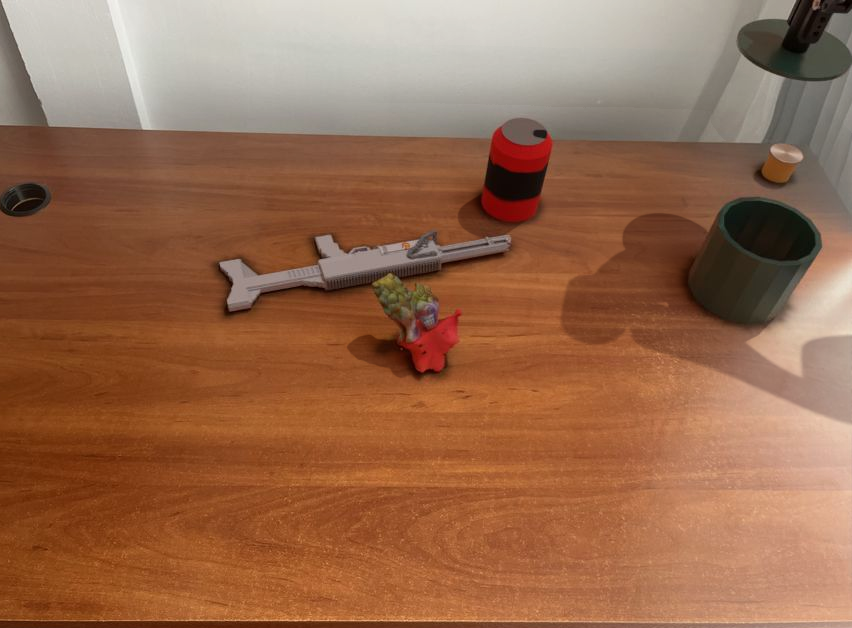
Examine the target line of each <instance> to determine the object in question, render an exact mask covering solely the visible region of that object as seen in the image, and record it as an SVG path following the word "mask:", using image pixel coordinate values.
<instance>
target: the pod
mask: <svg viewBox="0 0 852 628" xmlns="http://www.w3.org/2000/svg"><path fill="white" fill-rule="evenodd" d="M803 159H804V154H803V153H802V151H801V150H800V149H798V147H796V146H794V145H792V144H788V143H783V142H782V143H781V142H780V143H779V142H778V143H775V144H773V145H771V146H770V148H769V155H768V157H767V159H766V161H765V163H764V165H763V166H762V168H761V174H762V176H763V177H764V179H767V180H768V181H770V182H773V183H778V184H783V183H787V182H788V181H789V180H790V177H792V174H793V173H794V170H795V169H796V167H797V165H798V164H800V163H801V162H802V161H803Z"/></svg>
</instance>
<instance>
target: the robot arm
mask: <svg viewBox="0 0 852 628" xmlns="http://www.w3.org/2000/svg"><path fill="white" fill-rule="evenodd" d="M801 1H802V0H795V2H794V4H793V6H792V8H791V10H790V13H789V15H788V16H787V19H786V20H787V23H788V25H789V26H790V25H791V22H792V20H793V18H794V16H795V14H796V12H797V10H798V8H799V5H800V3H801ZM851 11H852V0H814V2H813V6H812V7H811V8H810V10H809V12H808V14H807V16H806V18H805V20H804V22H803V25H802V27H801V29H800V31H799V33H798V35H797V39H798V41H799V42H800V43H808V44H814V43H817V42H818V41H819V39H820V38H821V36H822V34H823V32H824V31H826V30H825V29H826V28H827V26H828V24H829V22H830V20H831V18H832V16H833V15H834V14H842V15H843V14H844V15H846V14H849V13H850V12H851Z"/></svg>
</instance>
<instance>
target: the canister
mask: <svg viewBox="0 0 852 628" xmlns="http://www.w3.org/2000/svg"><path fill="white" fill-rule="evenodd" d="M822 241H823V240H822V234H821V232H820V231H819V229H818V228H817V226H816V225H815V223H814V222H813V220H812V219H811V218H809V217H808V216H807V215H805V214H804V213H803V212H801V211H800V210H799V209H798V208H796V207H793V206H791V205H789V204H787V203H785V202H782V201H780V200H777V199H772V198H767V197H762V196H743V197H742V196H741V197H737V198H735V199H732V200H730V201H727V202H726V203H725V204H724V205H723V206H722V207H721V209H720V210H719V211H718V212H717V214H716V216H715V218H714V220H713V223H712V224H711V227H710V229H709V231H708V232H707V235H706V237H705V239H704V241H703V243H702V244H701V247H700V248H699V250H698V253H697V254H696V257H695V259H694V260H693V263H692V265H691V267H690V269H689V271H688V281H687V284H688V285H687V286H688V287H689V290H690V292H691V293H692V296H693V298H694V299H695V301H696V302H698V303H699V304H700V305H701V306H702V307H703V308H704V309H705V310H707V311H708V312H710V313H712V314H713V315H715V316H717V317H719V318H721V319H723V320H725V321H729V322H733V323H736V324H737V323H738V324H741V325H756V324H764V323H767V322H769V321H771V320H773V319H775V318H777V317H778V316H779V314H780V312H781V311H782V310H783V308H784V306H785V305H786V303H788V300H789V299H790V297H791V296H792V294H793V293H794V291H795V290H796V288H797V287H798V286H799V284H800V282H801V281H802V279H803V278H804V276H805V274H807V272H808V270H809V269H810V267H811V266H812V264H813V263H814V261H815V259H816V258H817V257H818V256H819V254H820V252H821V250H822V249H823V242H822Z"/></svg>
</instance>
